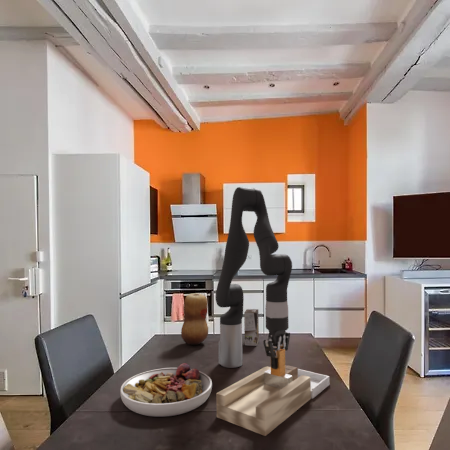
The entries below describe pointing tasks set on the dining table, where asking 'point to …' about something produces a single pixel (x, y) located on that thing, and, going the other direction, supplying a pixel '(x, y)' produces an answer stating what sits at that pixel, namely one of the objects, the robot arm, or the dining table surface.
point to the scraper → (278, 373)
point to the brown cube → (293, 371)
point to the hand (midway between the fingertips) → (277, 366)
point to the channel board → (261, 402)
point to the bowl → (166, 391)
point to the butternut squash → (195, 319)
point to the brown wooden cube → (288, 372)
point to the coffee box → (251, 327)
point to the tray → (315, 381)
